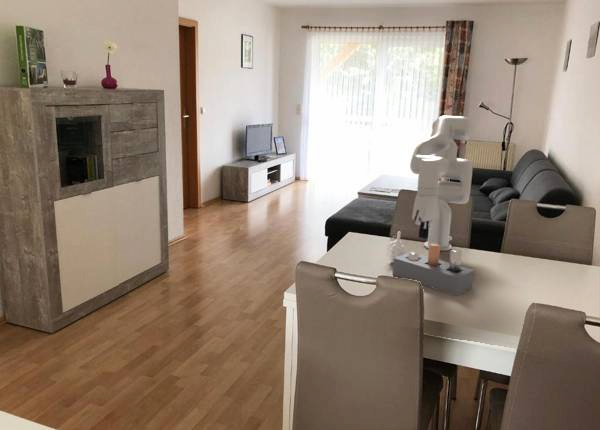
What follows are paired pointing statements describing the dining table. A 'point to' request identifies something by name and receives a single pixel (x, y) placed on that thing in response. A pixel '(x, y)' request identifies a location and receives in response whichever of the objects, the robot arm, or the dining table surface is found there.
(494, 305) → the dining table surface
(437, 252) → the plunger mid
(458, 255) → the clear piece
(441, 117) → the robot arm
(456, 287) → the grey long block
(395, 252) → the white tall piece
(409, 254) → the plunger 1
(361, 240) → the dining table surface
